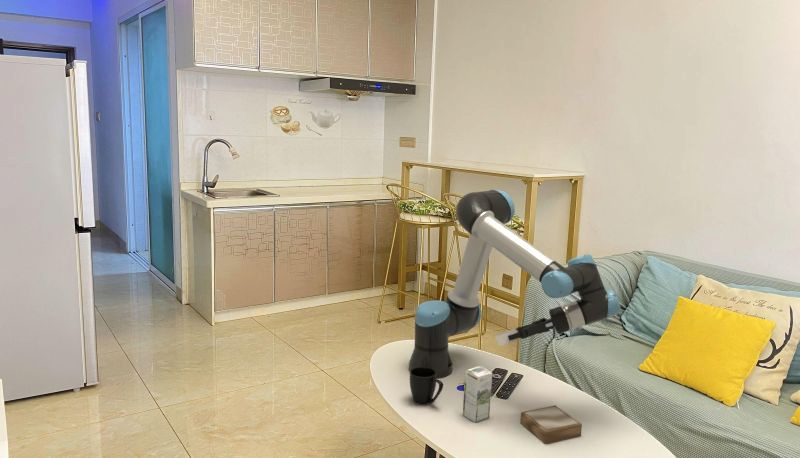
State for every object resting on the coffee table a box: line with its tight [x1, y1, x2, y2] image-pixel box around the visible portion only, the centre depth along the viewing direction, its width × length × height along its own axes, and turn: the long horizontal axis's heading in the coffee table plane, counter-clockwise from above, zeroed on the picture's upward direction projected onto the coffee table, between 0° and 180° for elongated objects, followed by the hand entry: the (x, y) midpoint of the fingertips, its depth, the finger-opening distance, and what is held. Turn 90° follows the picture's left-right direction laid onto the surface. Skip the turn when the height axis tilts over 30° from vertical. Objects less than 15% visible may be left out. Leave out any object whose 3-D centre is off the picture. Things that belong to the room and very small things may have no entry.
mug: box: [409, 367, 444, 406], centre depth 185 cm, size 8×12×10 cm
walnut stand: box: [519, 405, 583, 445], centre depth 171 cm, size 12×12×4 cm
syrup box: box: [462, 365, 493, 423], centre depth 177 cm, size 6×6×14 cm
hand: (496, 340), depth 179 cm, fingers open, 13 cm apart
